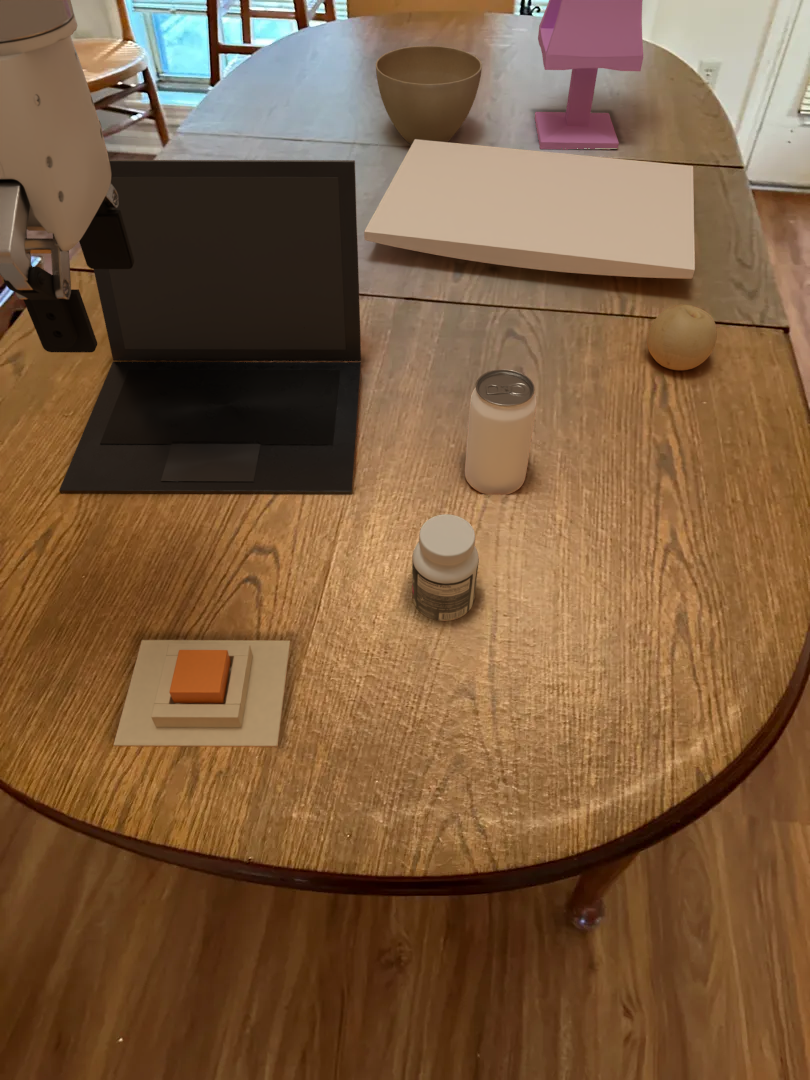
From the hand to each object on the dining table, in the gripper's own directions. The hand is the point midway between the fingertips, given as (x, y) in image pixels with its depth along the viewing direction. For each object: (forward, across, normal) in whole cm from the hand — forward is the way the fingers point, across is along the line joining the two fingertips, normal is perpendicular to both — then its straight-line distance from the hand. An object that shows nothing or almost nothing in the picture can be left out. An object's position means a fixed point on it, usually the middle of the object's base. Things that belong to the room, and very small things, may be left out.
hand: (93, 305), depth 52 cm
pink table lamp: (+30, -105, +51) cm, 121 cm away
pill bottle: (+30, +2, +24) cm, 39 cm away
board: (+30, -70, +40) cm, 86 cm away
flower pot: (+30, -103, +24) cm, 110 cm away
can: (+30, -15, +30) cm, 45 cm away
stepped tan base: (+30, +12, +4) cm, 33 cm away
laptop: (+30, -22, 0) cm, 37 cm away
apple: (+30, -36, +54) cm, 72 cm away
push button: (+27, +12, +4) cm, 30 cm away
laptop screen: (+18, -36, 0) cm, 40 cm away
